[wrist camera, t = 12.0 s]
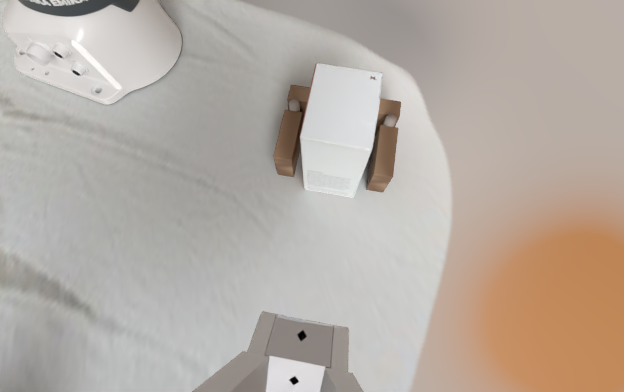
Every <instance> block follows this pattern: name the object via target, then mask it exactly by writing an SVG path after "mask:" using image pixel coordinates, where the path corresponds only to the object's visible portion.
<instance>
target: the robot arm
mask: <svg viewBox="0 0 624 392" xmlns="http://www.w3.org/2000/svg"><path fill="white" fill-rule="evenodd" d="M3 27H4V30H5V32H6V34H7V35H8V36H9V38H10V39H11V40H12V41H13V42H14V43H15V44H16V45H17V46H16V49H15V54H14V64H15V68H16V69H17V70H18V71H19V72H20V73H21V74H23V75H26V76H28V77H31V78H34V79H37V80H39V81H42V82H45V83H47V84H50V85H53V86H56V87H58V88H61V89H64V90H66V91H69V92H72V93H75V94H77V95H80V96H83V97H86V98H88V99H91V100H94V101H96V102H99V103H102V104H105V105H109V104H113V103H115V102H116V101H118V100H119V99H121V98H122V97H124V96H125V95H126V94H127V93H129V92H131V91H133V90H136V89H139V88H142V87H145V86H147V85H150V84H152V83H154V82H155V81H157V80H159V79H160V78H161V77H163V76H164V75H165V74H166V73H167V72H168V71H169V70H170V69H171V68H172V67H173V66H174V64H175V63H176V61H177V59H178V57H179V55H180V52H181V47H182V38H181V34H180V31H179V29H178V27H177V26H176V24H175V23H174V22H173V21H172V20H171V19H170V17H169V16H168V15H167V14H166V13H165V11H164V10H163V9H162V7H161V5H160V3H159V1H158V0H8V2H7V4H6V7H5V10H4V14H3ZM348 352H349V329H348V328H347V327H341V326H336V325H331V324H326V323H320V322H315V321H309V320H302V319H297V318H293V317H288V316H284V315H279V314H274V313H269V312H264V311H262V313H261V314H260V317H259V320H258V323H257V326H256V328H255V331H254V334H253V337H252V340H251V343H250V346H249V349H248V351H247V352H245V351H243V352H241V353H240V354H239V355H238V356H236V357H235V358H234V359H233V360H231V361H230V362H229V363H228V364H226V365H225V366H224V367H223V368H221V369H220V370H219V371H218V372H216V373H215V374H214V375H213V376H211V377H210V378H209V379H208V380H206V381H205V382H204V383H203V384H201V385H200V386H199V387H197V388H196V389H195V390H194V391H192V392H363V390H362V388H361V387H360V385H359V383H358V382H357V380H356V378H355V376H354V375H353V373H350V372H348Z"/></svg>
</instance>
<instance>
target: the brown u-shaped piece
mask: <svg viewBox="0 0 624 392" xmlns="http://www.w3.org/2000/svg"><path fill="white" fill-rule="evenodd" d="M309 92H310V88H309V87H303V86H296V85H291V87H290V91H289V95H288V108H289V110H285V111H284V115H283V119H282V123H281V128H280V132H279V136H278V140H277V144H276V148H275V152H274V156H273V157H274V161H275V165H276V169H277V173H278V174H279V175H285V176H290V177H294V174H295V169H296V165H297V160H298V155H299V151H300V146H301V144H300V133H301V128H302V124H303V119H304V115H305V110H306V105H307V101H308V97H309ZM400 107H401V102H399V101H393V100H386V99H380V105H379V112H378V118H377V124H376V130H375V136H376V138H375V141H374V143H373V148H372V153H371V160H370V167H369V175H368V182H367V189H366V190H372V191H378V192H383V191H384V190H385V188H386V187H387V185H388V184H389V182H390V180H391V179H392V177H393V171H394V162H395V153H396V144H397V134H398V128H395V125H396V123H397V121H398V119H399V116H400Z"/></svg>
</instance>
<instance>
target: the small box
mask: <svg viewBox="0 0 624 392" xmlns="http://www.w3.org/2000/svg"><path fill="white" fill-rule="evenodd" d="M382 78H383V73H380V72H374V71H368V70H362V69H355V68H348V67H341V66H334V65H327V64H320V63H316V66H315V70H314V74H313V79H312V83H311V87H310V92H309V97H308V101H307V105H306V110H305V115H304V119H303V124H302V128H301V133H300V144H301V156H302V170H303V183H304V189H305V190H311V191H317V192H322V193H328V194H334V195H339V196H345V197H351V198H354V196H355V194H356V191H357V188H358V185H359V183H360V180H361V178H362V175H363V173H364V170H365V167H366V165H367V162H368V160H369V157H370V154H371V151H372V148H373V143H374V136H375V130H376V124H377V118H378V112H379V105H380V94H381V86H382Z"/></svg>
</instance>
